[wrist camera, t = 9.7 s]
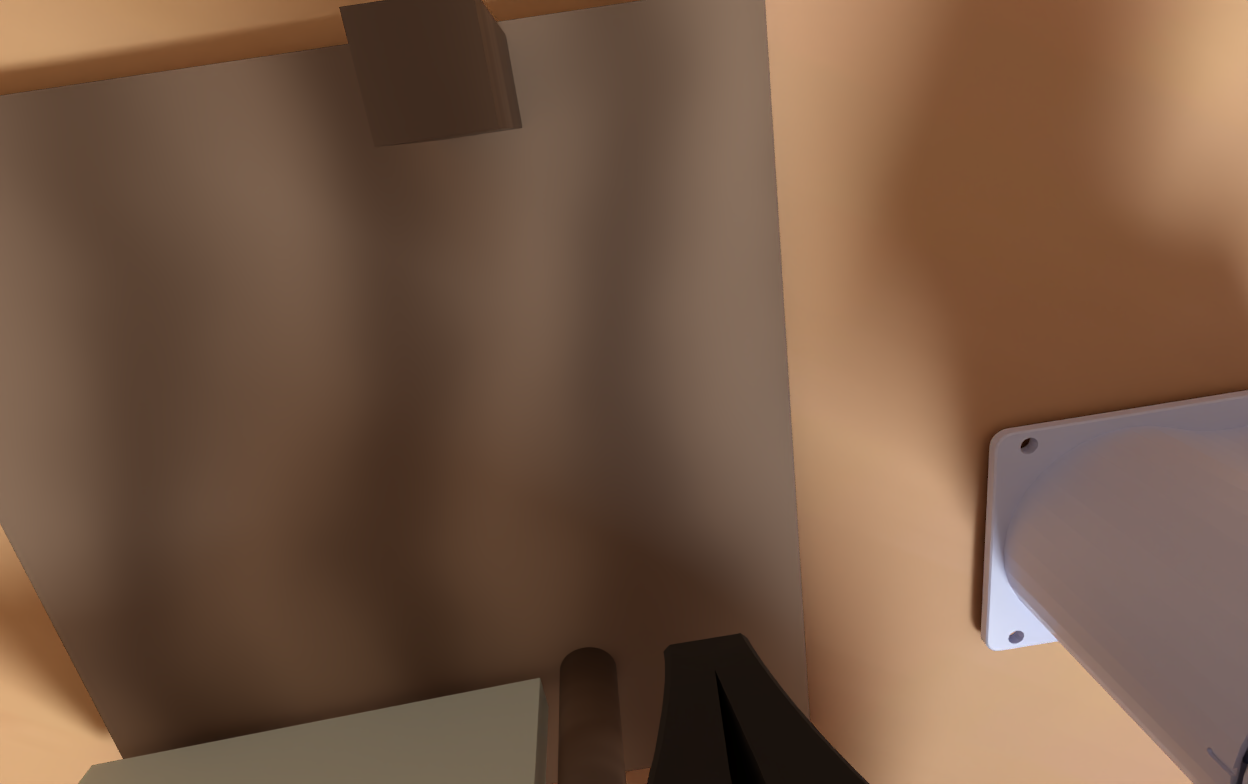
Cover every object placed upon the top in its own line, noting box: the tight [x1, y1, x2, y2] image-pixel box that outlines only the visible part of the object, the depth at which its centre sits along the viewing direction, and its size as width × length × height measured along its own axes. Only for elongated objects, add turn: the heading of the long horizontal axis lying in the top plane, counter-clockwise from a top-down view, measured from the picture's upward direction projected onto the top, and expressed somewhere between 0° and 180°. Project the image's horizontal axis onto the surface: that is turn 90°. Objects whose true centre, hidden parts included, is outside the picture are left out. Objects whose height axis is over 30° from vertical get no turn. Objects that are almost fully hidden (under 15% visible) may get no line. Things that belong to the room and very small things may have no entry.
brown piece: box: [0, 0, 810, 784], centre depth 18 cm, size 22×23×7 cm
